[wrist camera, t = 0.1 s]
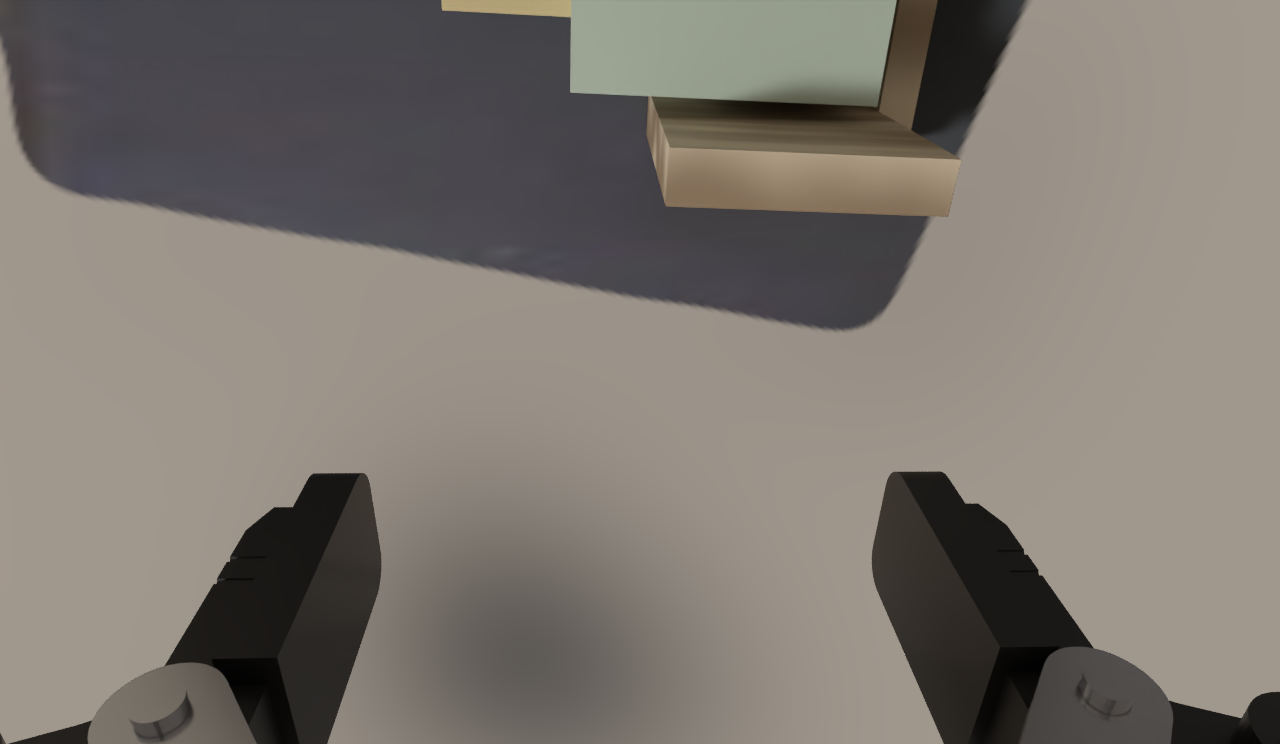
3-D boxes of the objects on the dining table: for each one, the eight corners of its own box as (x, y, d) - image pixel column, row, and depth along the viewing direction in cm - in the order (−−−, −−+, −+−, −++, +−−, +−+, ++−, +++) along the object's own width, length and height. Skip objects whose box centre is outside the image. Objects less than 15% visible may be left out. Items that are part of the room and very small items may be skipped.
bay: (662, -156, 33) (693, -205, 22) (938, -137, 33) (1096, -176, 23) (646, 134, 38) (665, 206, 28) (884, 144, 39) (991, 218, 28)
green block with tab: (456, -90, 34) (425, -98, 27) (853, -66, 35) (908, -68, 29) (463, 62, 36) (437, 86, 30) (830, 80, 38) (877, 106, 31)
